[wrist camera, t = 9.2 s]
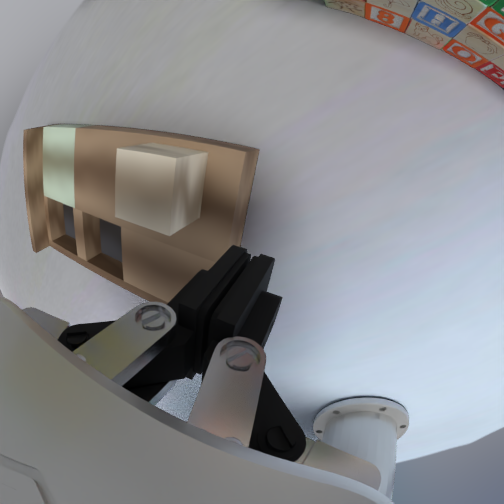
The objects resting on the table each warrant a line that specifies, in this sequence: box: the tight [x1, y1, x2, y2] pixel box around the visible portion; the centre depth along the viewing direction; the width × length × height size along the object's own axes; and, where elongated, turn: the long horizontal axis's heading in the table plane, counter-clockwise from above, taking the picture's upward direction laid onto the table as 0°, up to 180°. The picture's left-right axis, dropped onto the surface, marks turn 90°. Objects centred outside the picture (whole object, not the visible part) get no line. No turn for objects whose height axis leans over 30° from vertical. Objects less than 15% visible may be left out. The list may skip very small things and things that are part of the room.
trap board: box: [23, 124, 259, 305], centre depth 24 cm, size 16×27×6 cm, turn 79°
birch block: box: [115, 143, 208, 236], centre depth 18 cm, size 5×5×4 cm
